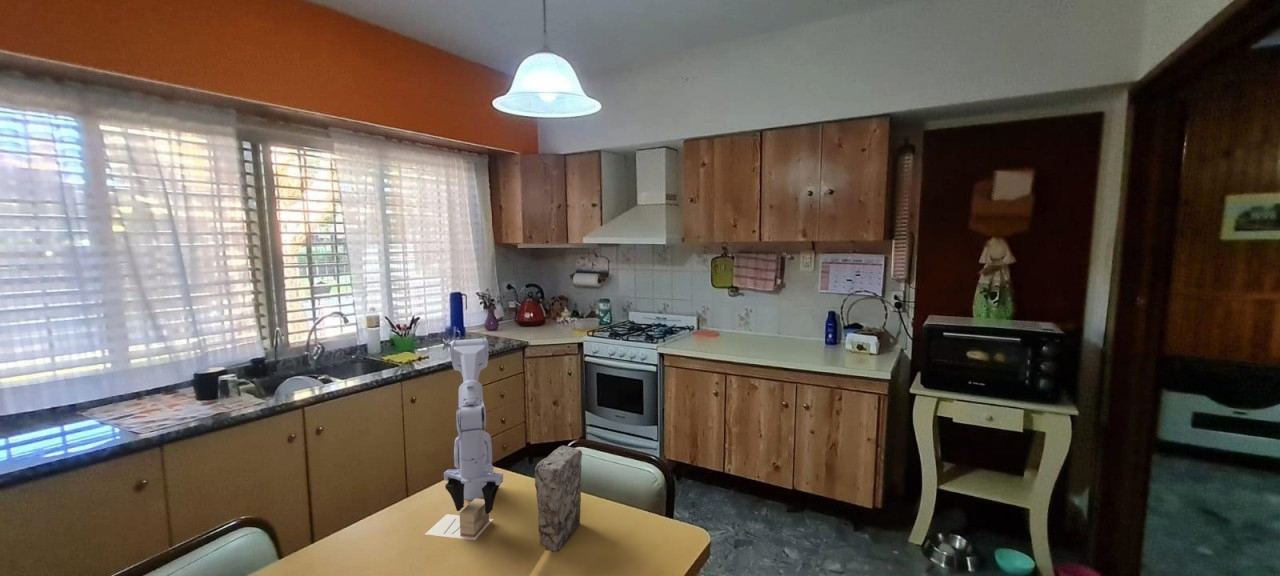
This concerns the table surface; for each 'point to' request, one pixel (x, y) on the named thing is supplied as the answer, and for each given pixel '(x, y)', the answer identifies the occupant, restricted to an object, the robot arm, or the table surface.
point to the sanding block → (473, 518)
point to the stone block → (558, 496)
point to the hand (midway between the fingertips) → (474, 510)
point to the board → (451, 528)
